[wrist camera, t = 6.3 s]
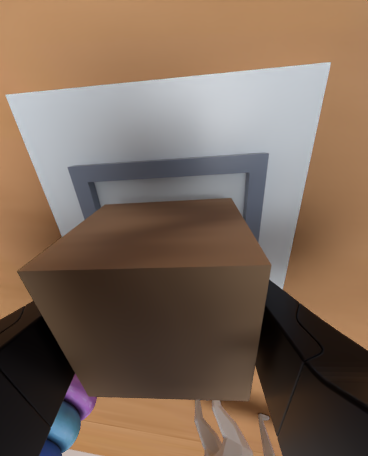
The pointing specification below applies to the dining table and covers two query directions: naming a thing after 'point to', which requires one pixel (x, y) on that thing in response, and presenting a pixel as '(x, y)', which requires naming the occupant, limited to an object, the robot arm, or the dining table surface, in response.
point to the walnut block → (156, 299)
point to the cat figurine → (227, 434)
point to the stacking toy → (68, 419)
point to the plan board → (181, 146)
